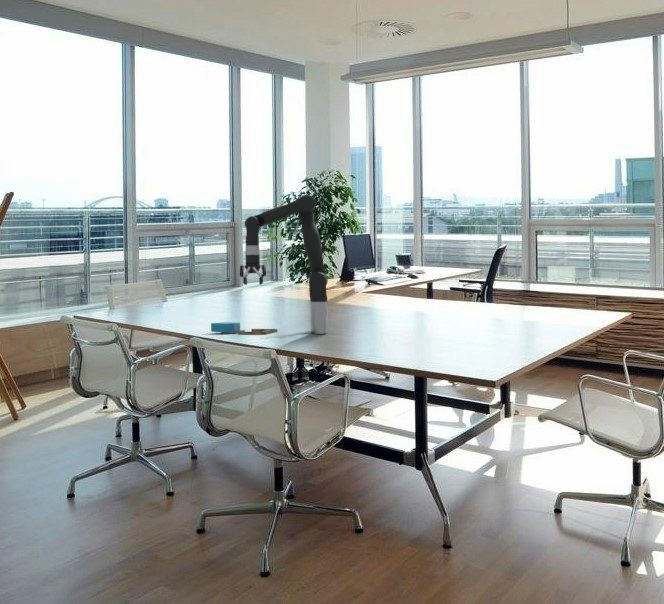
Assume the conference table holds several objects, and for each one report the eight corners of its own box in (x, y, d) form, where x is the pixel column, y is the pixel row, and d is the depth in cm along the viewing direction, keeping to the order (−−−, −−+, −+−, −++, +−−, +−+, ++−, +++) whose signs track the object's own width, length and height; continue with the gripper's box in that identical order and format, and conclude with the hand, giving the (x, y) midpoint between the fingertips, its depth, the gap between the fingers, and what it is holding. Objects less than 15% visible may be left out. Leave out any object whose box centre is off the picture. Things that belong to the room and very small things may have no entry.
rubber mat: (245, 332, 401) (245, 330, 401) (235, 334, 388) (235, 332, 388) (231, 331, 403) (231, 330, 403) (221, 334, 390) (221, 332, 390)
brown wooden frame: (278, 331, 400) (277, 328, 400) (265, 334, 380) (265, 331, 380) (252, 331, 403) (252, 328, 403) (238, 334, 384) (238, 331, 384)
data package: (227, 321, 403) (241, 322, 395) (227, 330, 403) (241, 331, 395) (209, 323, 394) (223, 323, 386) (209, 331, 395) (224, 332, 387)
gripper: (267, 254, 393) (268, 284, 393) (242, 254, 397) (243, 284, 397) (262, 253, 386) (263, 284, 386) (237, 254, 389) (238, 285, 390)
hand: (253, 284), depth 392 cm, fingers open, 8 cm apart
